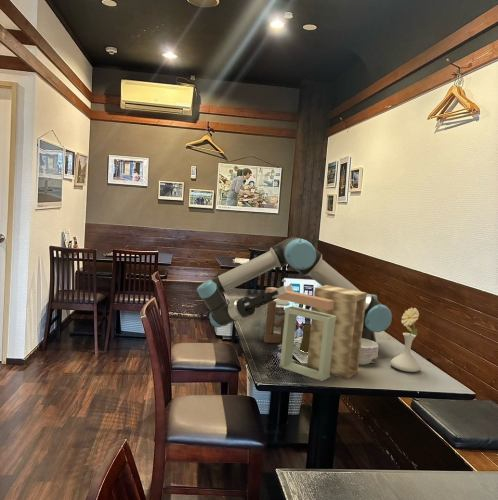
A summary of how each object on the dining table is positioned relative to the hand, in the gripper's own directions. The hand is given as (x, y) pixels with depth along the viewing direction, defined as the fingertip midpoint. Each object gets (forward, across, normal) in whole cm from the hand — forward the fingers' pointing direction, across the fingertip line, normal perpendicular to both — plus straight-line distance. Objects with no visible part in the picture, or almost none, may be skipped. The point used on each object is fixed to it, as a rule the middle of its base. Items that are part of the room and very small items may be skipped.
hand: (288, 288), depth 165 cm
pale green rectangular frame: (-6, 0, -30) cm, 30 cm away
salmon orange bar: (+2, 0, -6) cm, 6 cm away
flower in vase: (+17, -34, -43) cm, 57 cm away
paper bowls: (+1, -28, -34) cm, 44 cm away
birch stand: (-1, -11, -33) cm, 34 cm away
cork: (-16, -23, -24) cm, 37 cm away
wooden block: (-29, -22, -17) cm, 40 cm away
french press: (-36, -38, -13) cm, 54 cm away
